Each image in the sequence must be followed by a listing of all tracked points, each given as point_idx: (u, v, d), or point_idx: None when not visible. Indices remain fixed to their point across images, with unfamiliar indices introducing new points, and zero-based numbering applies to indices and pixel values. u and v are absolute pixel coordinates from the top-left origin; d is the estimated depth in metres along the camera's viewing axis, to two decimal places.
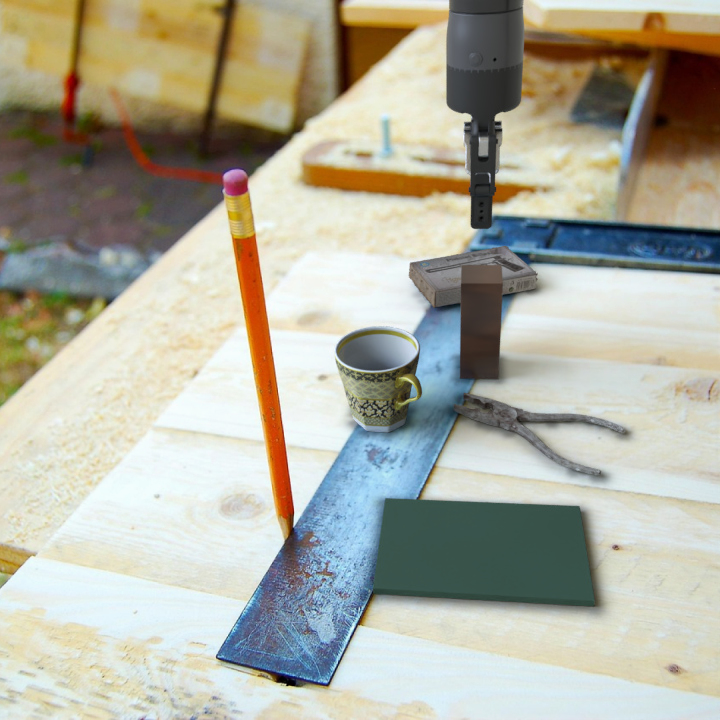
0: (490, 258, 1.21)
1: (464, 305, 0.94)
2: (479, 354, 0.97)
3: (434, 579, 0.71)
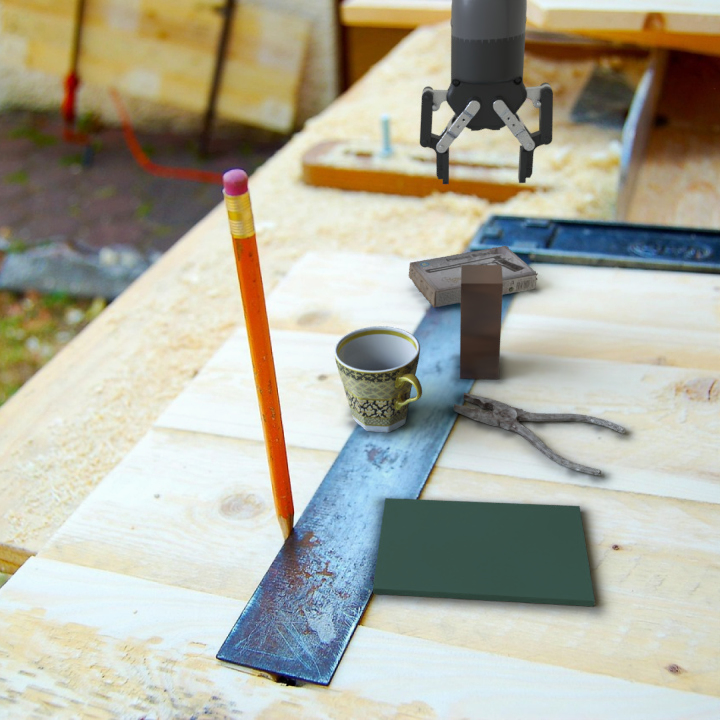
0: (490, 258, 1.21)
1: (464, 305, 0.94)
2: (479, 354, 0.97)
3: (434, 579, 0.71)
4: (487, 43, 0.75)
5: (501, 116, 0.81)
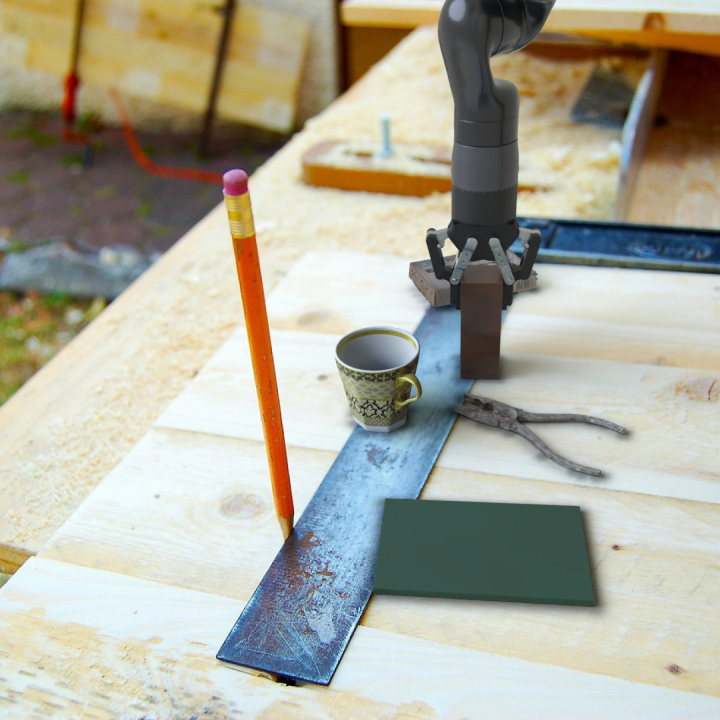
0: None
1: (464, 305, 0.94)
2: (479, 354, 0.97)
3: (434, 579, 0.71)
4: (483, 194, 0.84)
5: (493, 251, 0.90)
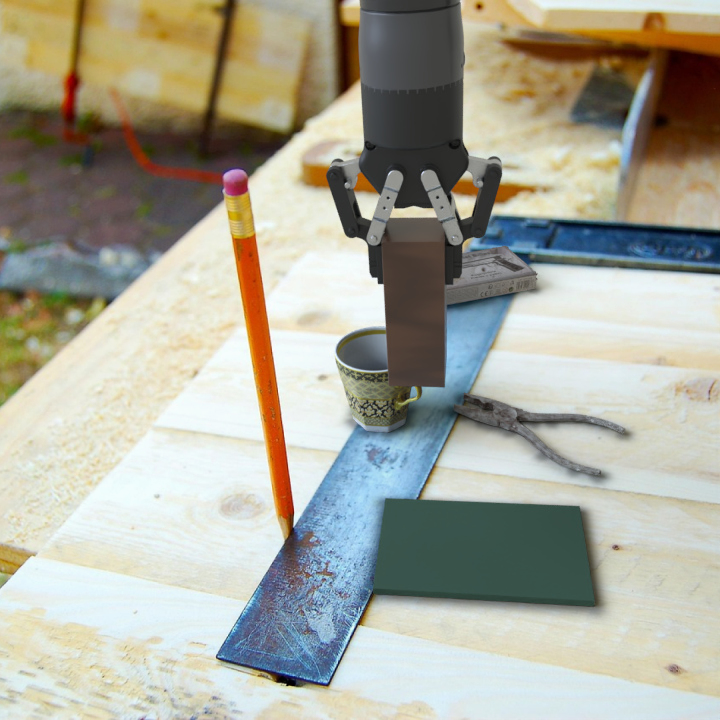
0: (490, 258, 1.21)
1: (388, 276, 0.62)
2: (415, 350, 0.66)
3: (434, 579, 0.71)
4: (405, 95, 0.53)
5: (428, 192, 0.59)
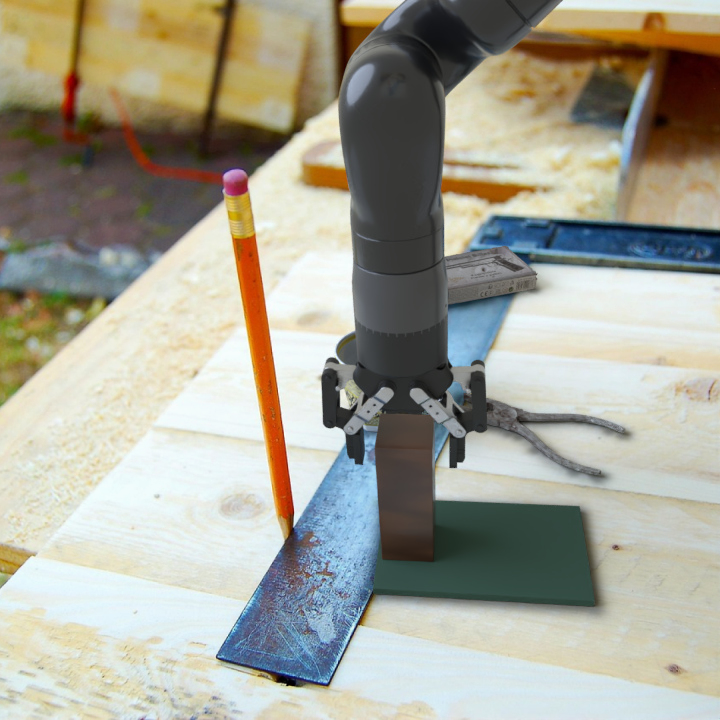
0: (490, 258, 1.21)
1: (381, 474, 0.68)
2: (406, 532, 0.71)
3: (434, 579, 0.71)
4: (395, 337, 0.58)
5: (421, 404, 0.64)
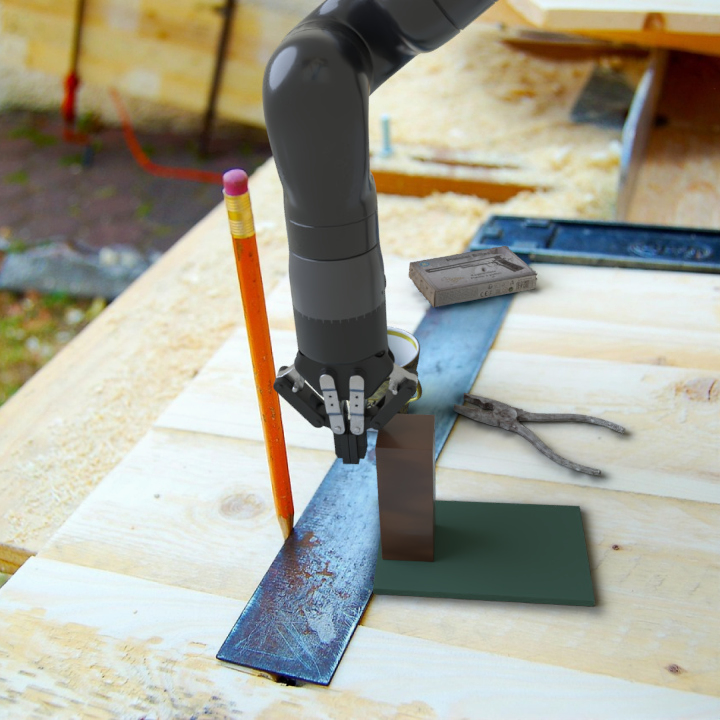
0: (490, 258, 1.21)
1: (381, 474, 0.68)
2: (406, 532, 0.71)
3: (434, 579, 0.71)
4: (330, 324, 0.58)
5: (351, 390, 0.64)
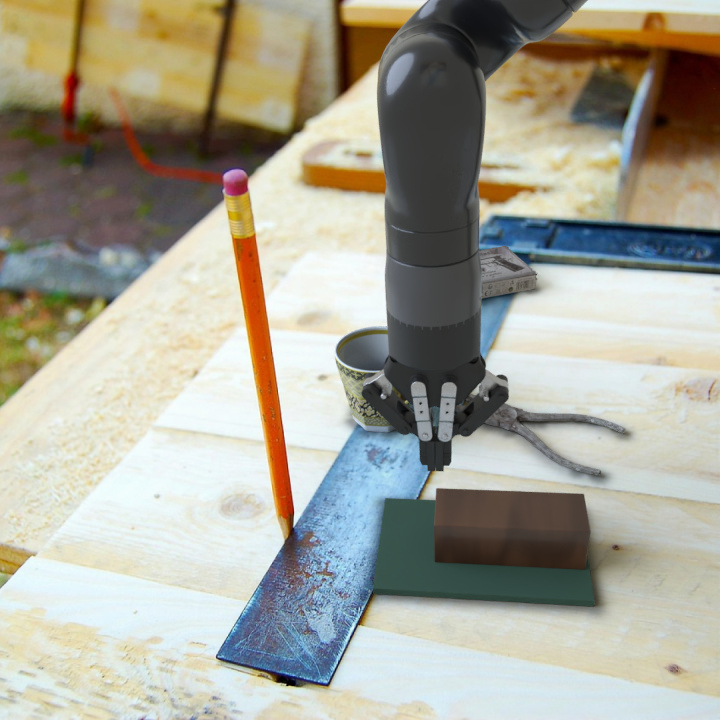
0: (490, 258, 1.21)
1: (556, 534, 0.69)
2: (475, 545, 0.71)
3: (434, 579, 0.71)
4: (429, 330, 0.58)
5: (442, 397, 0.63)
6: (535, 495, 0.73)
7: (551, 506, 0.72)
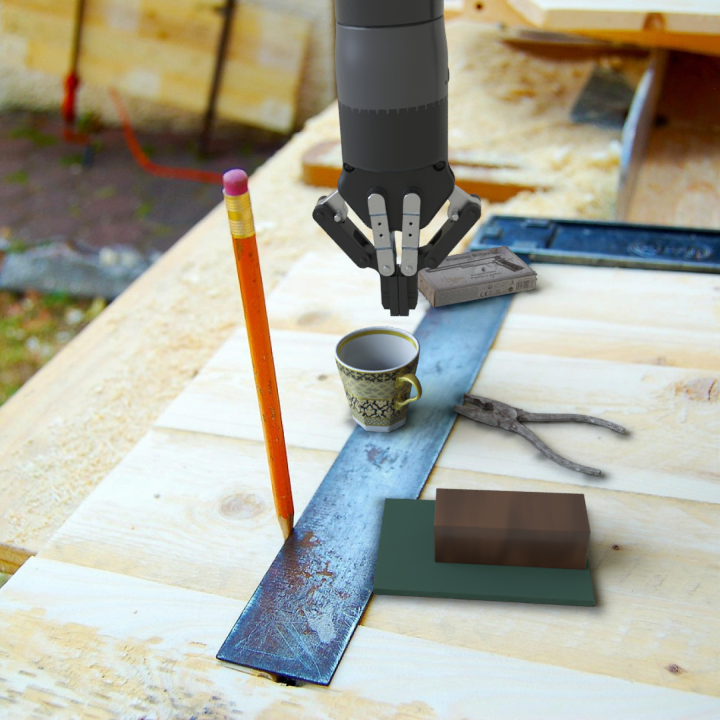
0: (490, 258, 1.21)
1: (556, 534, 0.69)
2: (475, 545, 0.71)
3: (434, 579, 0.71)
4: (385, 115, 0.49)
5: (404, 215, 0.55)
6: (535, 495, 0.73)
7: (551, 506, 0.72)
